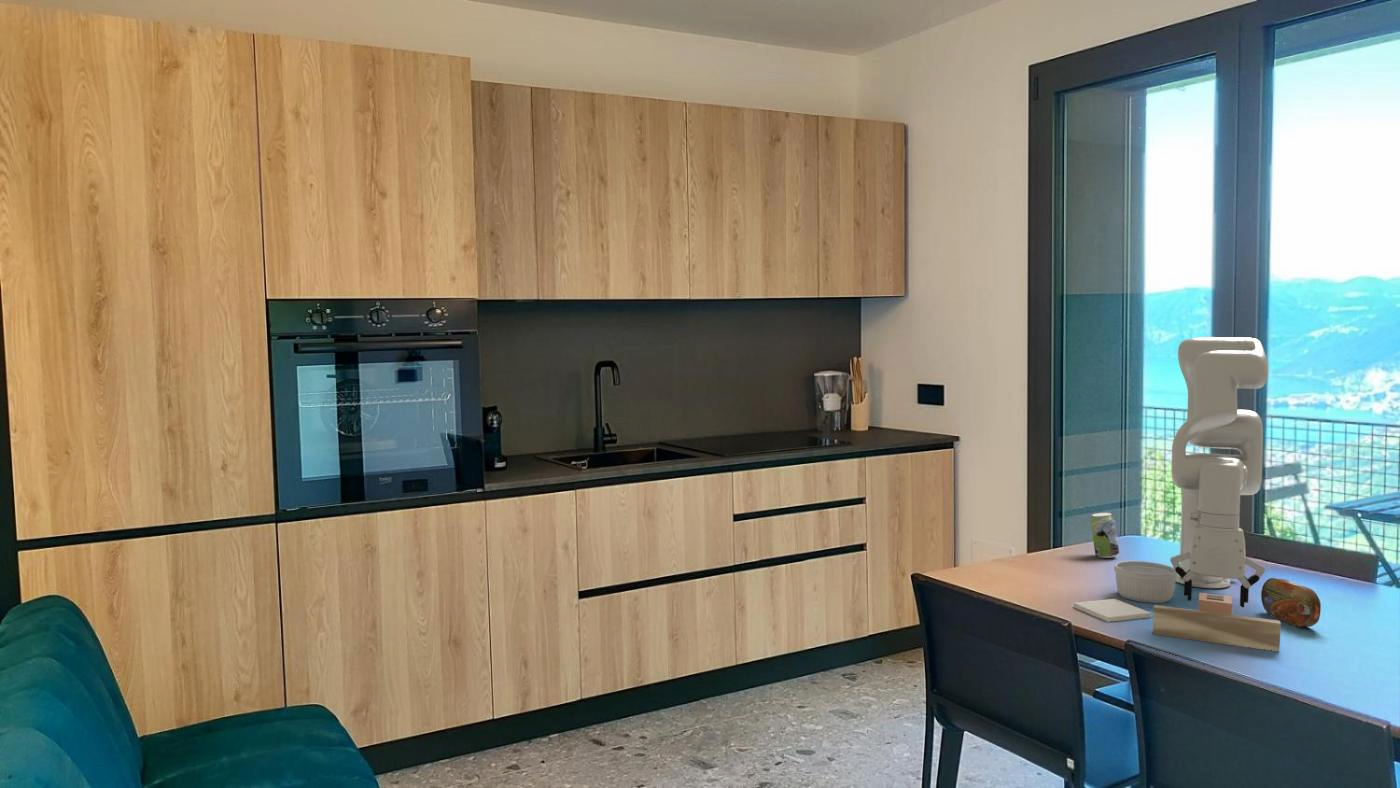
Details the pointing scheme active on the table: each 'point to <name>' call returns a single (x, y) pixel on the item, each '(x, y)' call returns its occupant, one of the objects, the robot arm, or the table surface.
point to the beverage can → (1104, 535)
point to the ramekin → (1145, 581)
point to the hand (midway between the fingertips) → (1215, 602)
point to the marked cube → (1215, 603)
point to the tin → (1291, 602)
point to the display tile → (1112, 610)
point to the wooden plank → (1217, 627)
